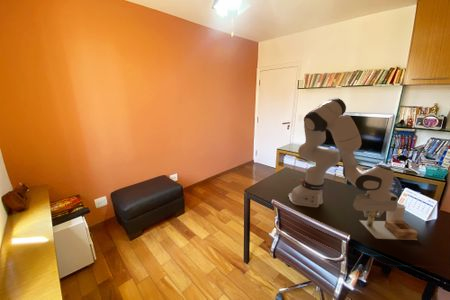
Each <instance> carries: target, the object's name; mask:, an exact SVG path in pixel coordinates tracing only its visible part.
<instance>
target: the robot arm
mask: <svg viewBox="0 0 450 300" xmlns="http://www.w3.org/2000/svg"><path fill="white" fill-rule="evenodd" d="M346 111H347V106H346V103H345V102H344V101H343V100H342V99H340V98H339V97H335V98H331V99H328V100H327V101H325V102H323V103H321V104H319V105H318V106H316V107H315V108H314V109H312V110H311V111H309V112H308V113H307V114H306V115H304V117H303V129H304V136H305V141H304V143H303V144H301V145H300V146H299V148H298V149H297V154H298V156H299V157H300V158H302V159H304V160H306V161H309V162H312V163H314V164H315V165H313V166H309V167H308V168H307V169H306V172H305V178H304V179H302V178H300V179H299V182H300V183H301V184H300V185H298V186H296V187H294V188H293V189H292V192H289V193H288V197H289V198H288V200H289V201H290V203H292V204H293V205H294V206H301V207H303V206H304V207H309V208H319V207H320V205H322V204H323V203H324V200H323V190H324V185H325V184H324V180H325V175H326V173H327V171H328V170H329V169H330V168H332V167H335V166H337V165H338V164H339V163H340V160H341V162H342V175H343V177H344V178H345V179H346V180H347V181H348V182H349V183H351V185H353V186H354V187H356V188H357V189H358V190H360V191H363V192H364V191H365V192H366V193H364V194H363V193H359V194H357V195H356V196H355V199H354V201H353V204H352V206H353V208H354V209H355V210H356V211H361V212H363V217H365V218H368V216H369V211H376V215H375V217H376V218H379V219H380V218H381V216H382V215H383V214H384V212H386V211H392V212H393V211H395V210H396V208H397V204H398V201H399V199H400V198H399V196H397V195H396V194H394V193H392V192H391V190H390V188H391V187H392V185H393V181H394V177H395V171H394V170H393V169H392V168H391V167H389V166H386V165H383V164H379V163H378V164H375V165H374V166H372V167H371V168H368V169H364V168H363V167H362V166H361V165H359V163H358V162H357V160H356V156H355V153H354V152H356V151H358V150H359V149H360V148H361V146H362V137H361V134H360V131H359V129H358V126H357V125H356V123H355V121H354V119H353V118H352V116H350V115H349V114H345V113H346ZM326 130H328V131H329V132H330V134H331V136H332V139H333V142H334V144H335V146H336V148H337V149H338V150H336V149H333V148H330V147H326V146H322V145H323V144H324V143H325V142H326V139H327V134H326Z"/></svg>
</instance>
